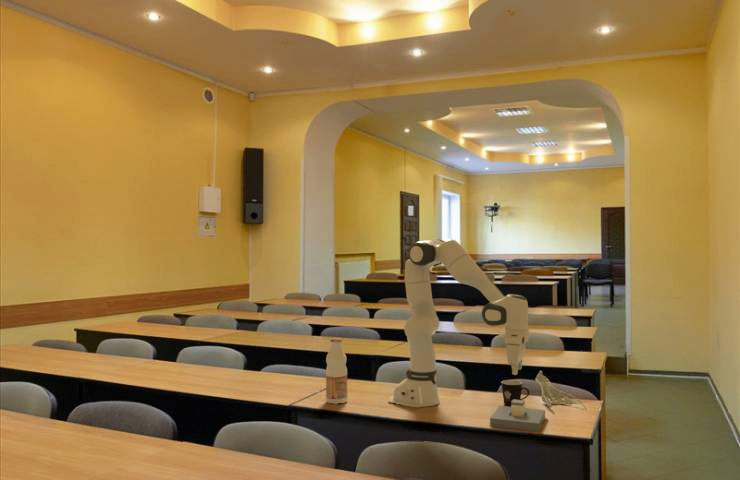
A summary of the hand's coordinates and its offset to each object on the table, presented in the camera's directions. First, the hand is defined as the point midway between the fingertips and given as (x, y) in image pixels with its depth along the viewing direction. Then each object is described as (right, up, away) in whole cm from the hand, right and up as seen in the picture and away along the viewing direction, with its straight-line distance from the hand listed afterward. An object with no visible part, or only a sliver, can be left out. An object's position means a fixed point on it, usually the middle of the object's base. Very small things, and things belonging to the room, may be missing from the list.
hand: (517, 371), depth 223 cm
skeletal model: (+22, -20, +23) cm, 37 cm away
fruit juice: (-72, -21, +32) cm, 81 cm away
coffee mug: (+4, -20, +20) cm, 28 cm away
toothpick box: (0, -19, 0) cm, 19 cm away
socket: (0, -19, 0) cm, 19 cm away
